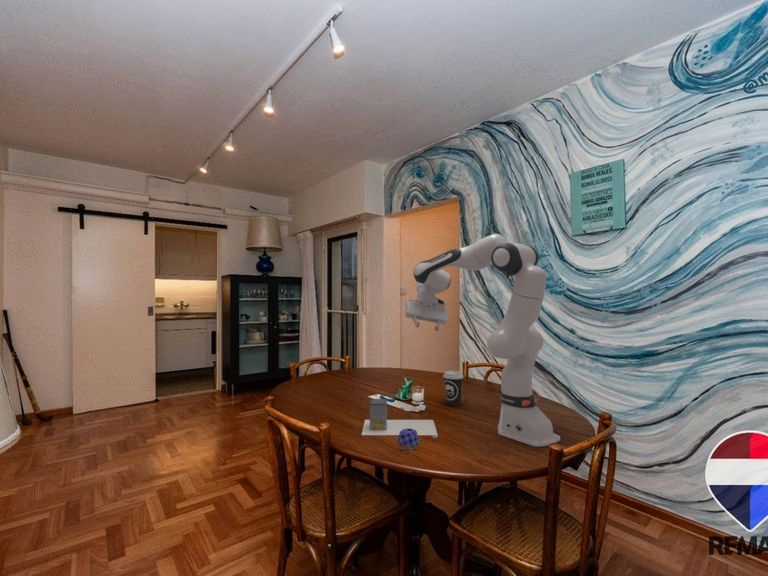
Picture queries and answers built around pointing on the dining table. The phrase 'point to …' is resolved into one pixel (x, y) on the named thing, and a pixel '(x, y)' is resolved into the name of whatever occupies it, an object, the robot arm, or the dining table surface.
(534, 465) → the dining table surface
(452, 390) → the coffee cup
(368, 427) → the placemat
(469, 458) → the dining table surface
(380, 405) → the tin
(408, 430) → the pudding
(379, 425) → the block
